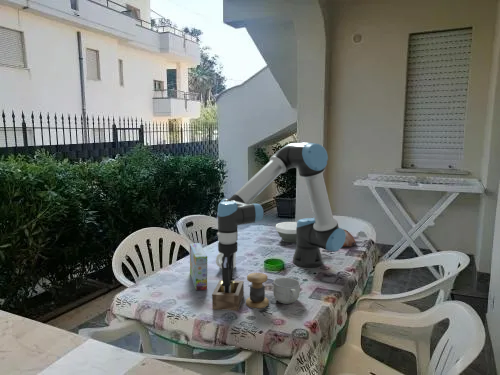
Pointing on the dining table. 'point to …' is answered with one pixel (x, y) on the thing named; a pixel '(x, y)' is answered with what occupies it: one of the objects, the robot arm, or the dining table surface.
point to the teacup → (286, 290)
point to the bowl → (287, 231)
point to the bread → (348, 240)
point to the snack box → (198, 266)
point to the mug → (219, 257)
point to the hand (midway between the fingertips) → (228, 298)
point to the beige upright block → (231, 287)
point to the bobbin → (257, 291)
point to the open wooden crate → (228, 297)
